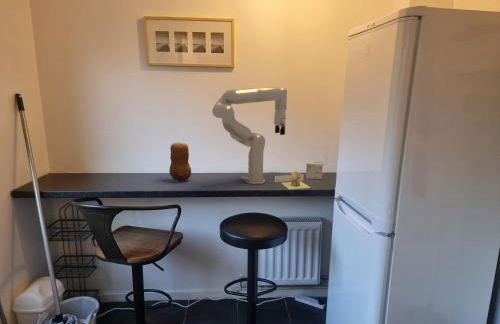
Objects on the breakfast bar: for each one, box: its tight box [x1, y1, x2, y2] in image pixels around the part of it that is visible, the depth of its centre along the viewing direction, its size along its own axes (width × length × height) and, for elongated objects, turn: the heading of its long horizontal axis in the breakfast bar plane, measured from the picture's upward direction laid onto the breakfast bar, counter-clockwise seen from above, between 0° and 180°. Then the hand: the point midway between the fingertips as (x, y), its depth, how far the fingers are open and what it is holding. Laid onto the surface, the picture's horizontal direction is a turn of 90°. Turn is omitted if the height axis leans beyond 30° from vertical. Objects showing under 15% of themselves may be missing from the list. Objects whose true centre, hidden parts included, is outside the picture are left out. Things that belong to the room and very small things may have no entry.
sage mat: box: [280, 181, 311, 191], centre depth 194 cm, size 14×14×1 cm
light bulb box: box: [305, 161, 323, 180], centre depth 212 cm, size 11×7×11 cm, turn 84°
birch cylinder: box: [290, 171, 302, 186], centre depth 193 cm, size 6×6×8 cm
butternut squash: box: [168, 142, 192, 182], centre depth 200 cm, size 14×13×25 cm
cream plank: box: [274, 174, 304, 183], centre depth 204 cm, size 20×1×4 cm, turn 105°
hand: (279, 133), depth 206 cm, fingers open, 9 cm apart
